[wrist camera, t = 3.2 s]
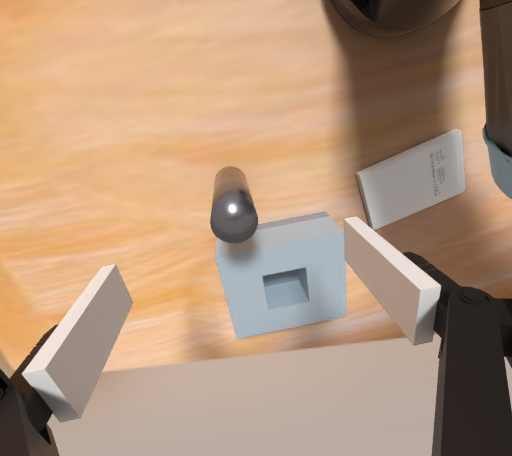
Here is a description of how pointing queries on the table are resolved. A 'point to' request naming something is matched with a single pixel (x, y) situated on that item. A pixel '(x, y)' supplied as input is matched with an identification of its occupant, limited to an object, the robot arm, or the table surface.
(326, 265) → the socket block
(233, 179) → the pin
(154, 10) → the table surface
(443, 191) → the external hard drive
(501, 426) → the robot arm
